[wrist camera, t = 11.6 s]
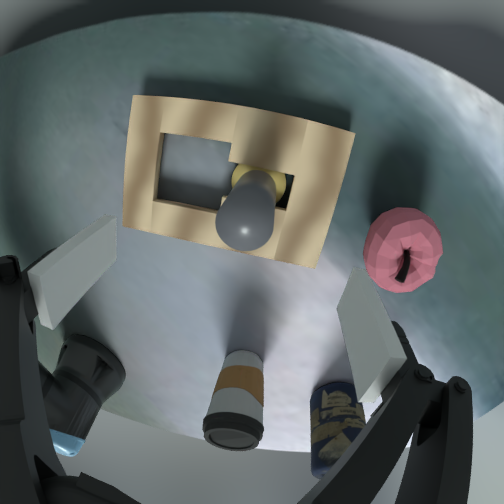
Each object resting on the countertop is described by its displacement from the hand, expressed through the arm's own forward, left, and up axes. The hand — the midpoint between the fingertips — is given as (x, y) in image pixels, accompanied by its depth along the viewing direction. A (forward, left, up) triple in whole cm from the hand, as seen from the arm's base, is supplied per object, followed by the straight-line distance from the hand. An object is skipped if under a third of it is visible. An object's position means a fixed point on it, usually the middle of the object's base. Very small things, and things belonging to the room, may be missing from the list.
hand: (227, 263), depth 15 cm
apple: (+17, -2, -20) cm, 26 cm away
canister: (+22, -34, -20) cm, 45 cm away
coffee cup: (+4, -29, -20) cm, 35 cm away
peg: (0, 0, -19) cm, 19 cm away
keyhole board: (-3, 0, -19) cm, 20 cm away
